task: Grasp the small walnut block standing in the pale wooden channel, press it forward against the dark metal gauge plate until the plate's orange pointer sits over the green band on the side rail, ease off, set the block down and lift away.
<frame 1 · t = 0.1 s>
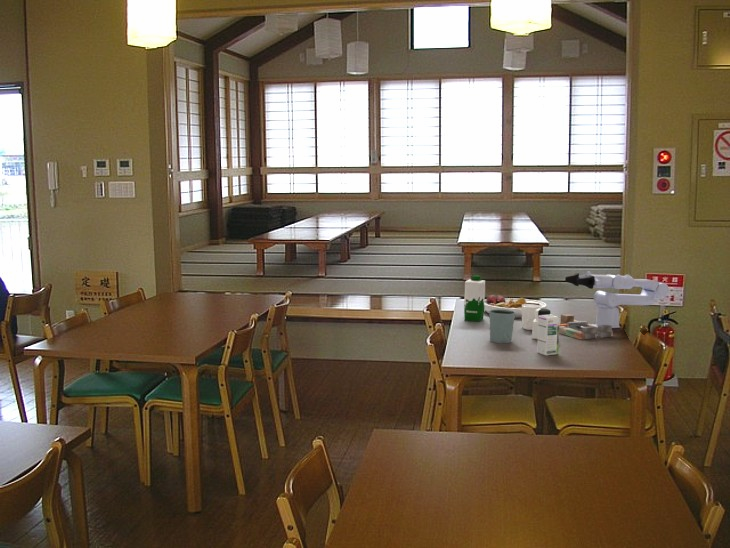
hand: (571, 280, 346), 22 cm above the table, tool horizontal, fingers open, 7 cm apart
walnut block: (566, 328, 352), on the table
gauge bed: (577, 331, 345), on the table
gauge plate: (576, 328, 342), point 2 cm above the table, slide at 0.0 cm
white cup: (529, 328, 351), on the table
medicine bottle: (541, 338, 332), on the table
milk carton: (473, 320, 368), on the table
drinking glass 2: (501, 341, 325), on the table
syrup box: (547, 354, 304), on the table
bowl: (514, 313, 388), on the table
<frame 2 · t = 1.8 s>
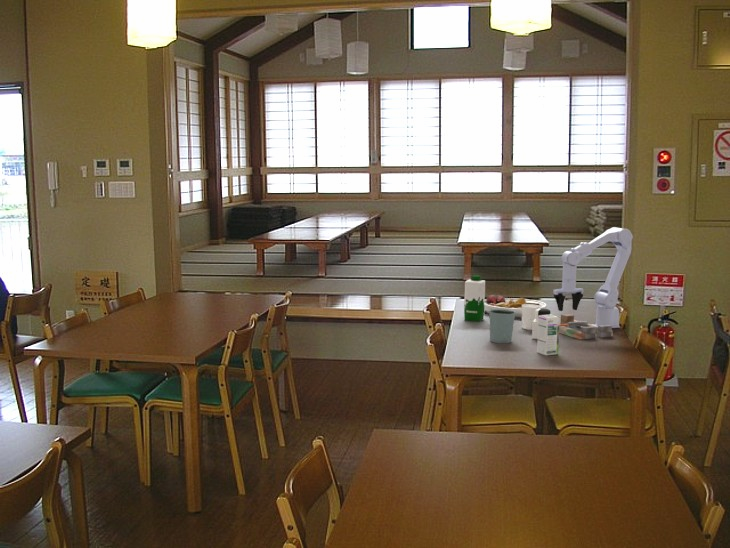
hand: (567, 310, 350), 8 cm above the table, tool pointing down, fingers open, 7 cm apart
nothing on the table moved.
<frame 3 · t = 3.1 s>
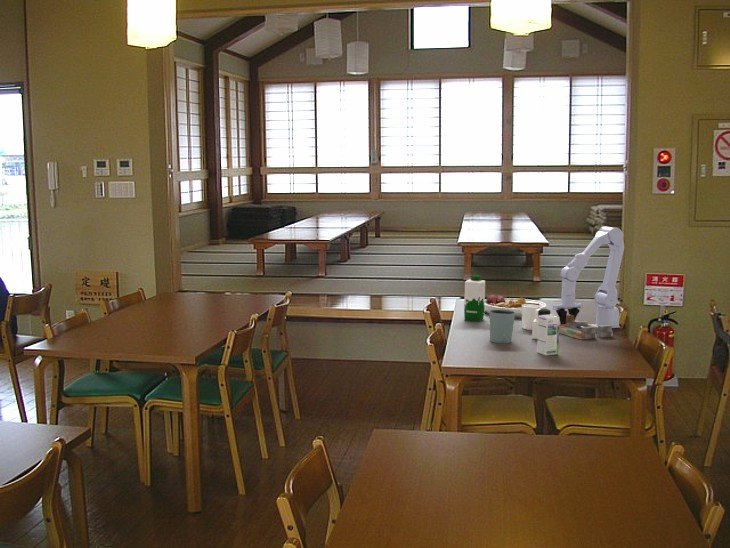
hand: (567, 325, 351), 1 cm above the table, tool pointing down, fingers closed on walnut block, 4 cm apart
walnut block: (566, 328, 352), on the table, touching gripper
everything else where it was.
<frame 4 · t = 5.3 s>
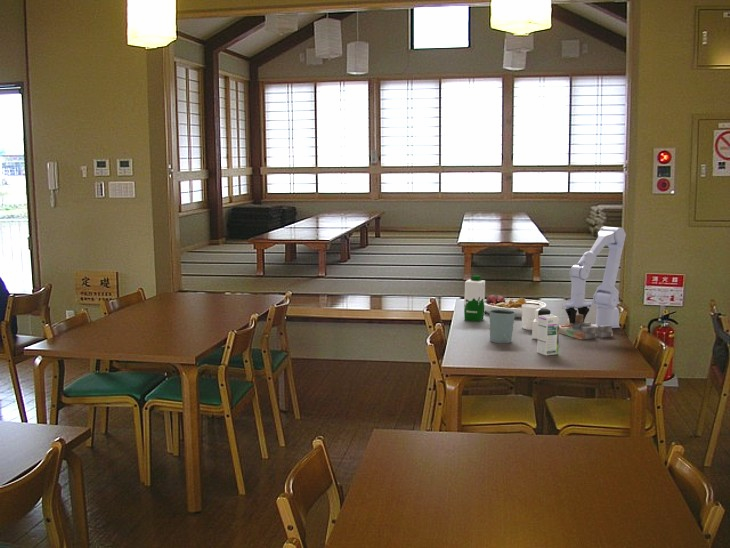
hand: (576, 324, 345), 3 cm above the table, tool pointing down, fingers closed on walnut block, 4 cm apart
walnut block: (576, 328, 346), point 1 cm above the table, touching gripper
gauge plate: (579, 328, 340), point 2 cm above the table, slide at 1.9 cm
everything else where it was.
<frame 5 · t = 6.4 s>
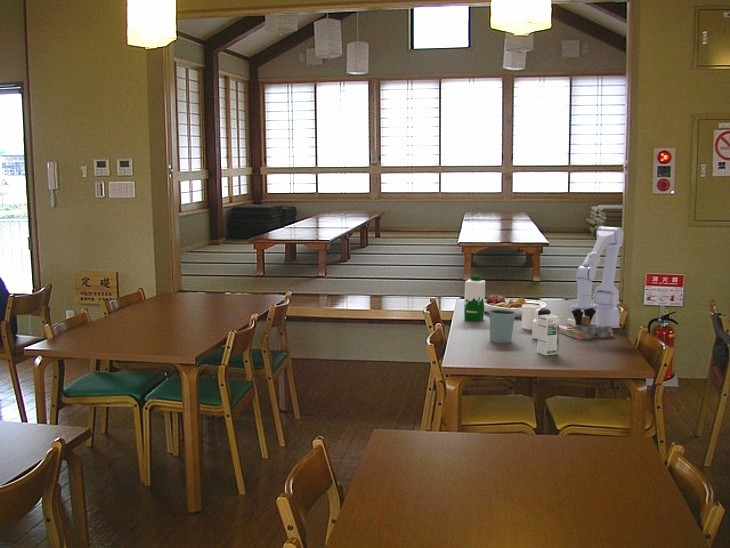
hand: (582, 326, 342), 3 cm above the table, tool pointing down, fingers closed on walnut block, 4 cm apart
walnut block: (582, 329, 342), point 1 cm above the table, touching gauge plate, gripper
gauge plate: (585, 330, 336), point 2 cm above the table, slide at 5.9 cm, touching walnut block
everything else where it was.
when the fingers open (3 cm above the table, at t = 7.6 s): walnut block drops 1 cm, on the table.
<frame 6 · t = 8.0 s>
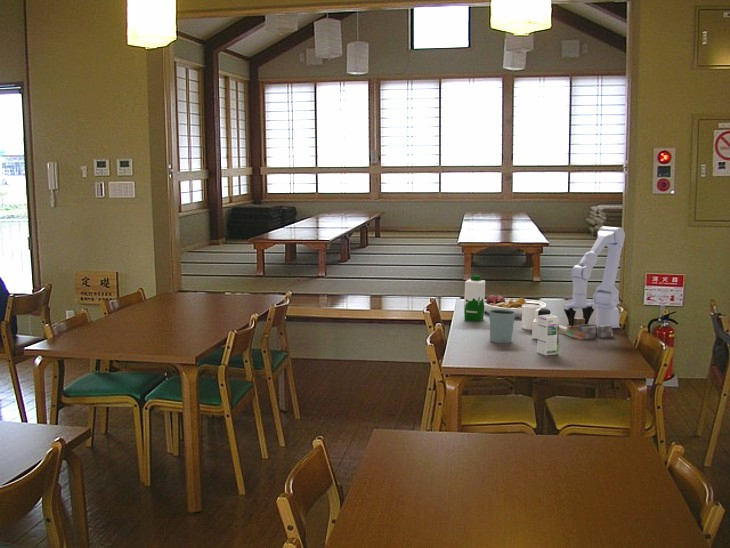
hand: (578, 325, 344), 3 cm above the table, tool pointing down, fingers open, 7 cm apart
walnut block: (577, 331, 345), on the table
gauge plate: (585, 330, 336), point 2 cm above the table, slide at 5.9 cm
everything else where it was.
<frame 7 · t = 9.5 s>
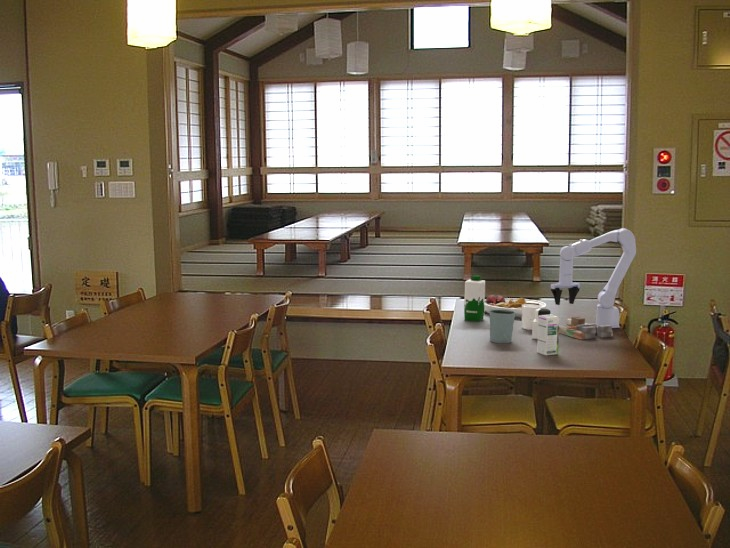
hand: (564, 304, 358), 9 cm above the table, tool pointing down, fingers open, 7 cm apart
nothing on the table moved.
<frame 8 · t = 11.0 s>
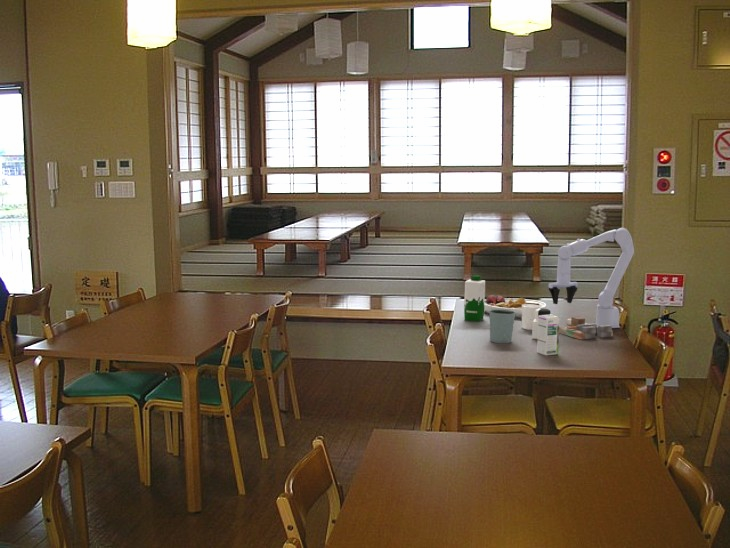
hand: (562, 303, 360), 9 cm above the table, tool pointing down, fingers open, 7 cm apart
nothing on the table moved.
at the end: gauge plate slide at 5.9 cm; the gripper is holding nothing; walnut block tilted 0° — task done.
